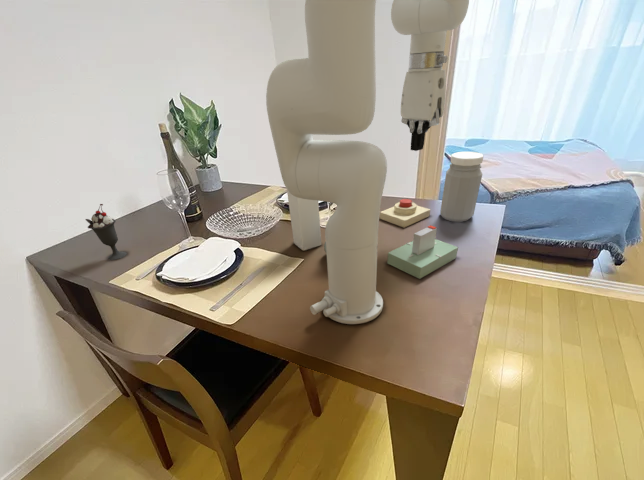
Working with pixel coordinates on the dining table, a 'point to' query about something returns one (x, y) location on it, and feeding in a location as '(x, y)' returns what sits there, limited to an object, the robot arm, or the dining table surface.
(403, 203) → the button
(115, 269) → the dining table surface
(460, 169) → the jar
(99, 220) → the sundae
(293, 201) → the milk
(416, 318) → the dining table surface
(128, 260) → the dining table surface
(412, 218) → the button box
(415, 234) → the grey rectangular block
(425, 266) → the panel
